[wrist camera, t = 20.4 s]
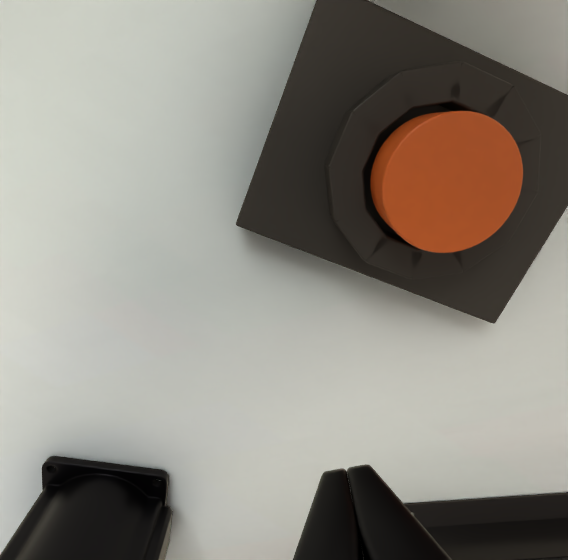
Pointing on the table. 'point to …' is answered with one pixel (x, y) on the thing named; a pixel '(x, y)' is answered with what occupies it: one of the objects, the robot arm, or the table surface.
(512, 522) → the black printed box
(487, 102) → the pad
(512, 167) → the button
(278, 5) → the table surface
